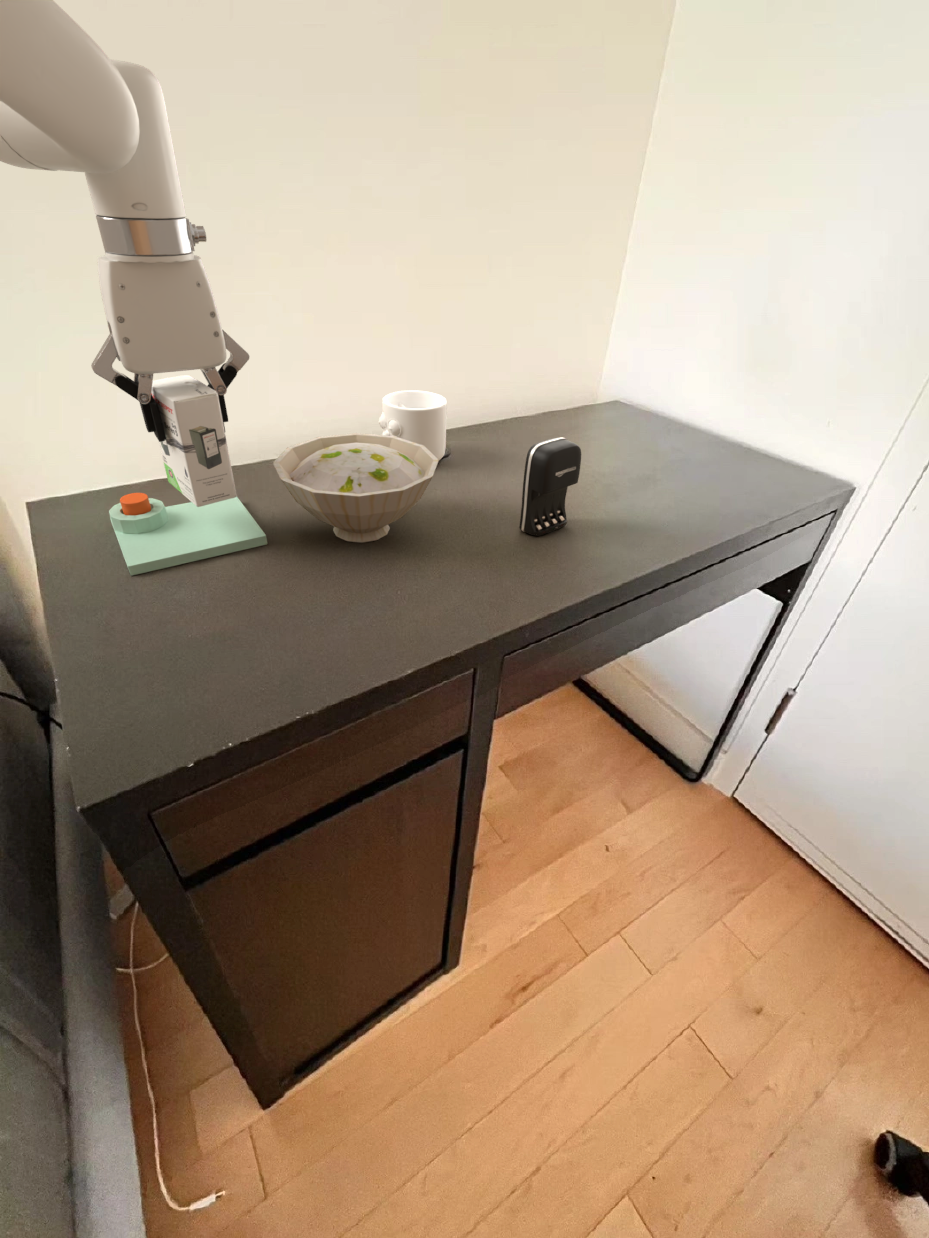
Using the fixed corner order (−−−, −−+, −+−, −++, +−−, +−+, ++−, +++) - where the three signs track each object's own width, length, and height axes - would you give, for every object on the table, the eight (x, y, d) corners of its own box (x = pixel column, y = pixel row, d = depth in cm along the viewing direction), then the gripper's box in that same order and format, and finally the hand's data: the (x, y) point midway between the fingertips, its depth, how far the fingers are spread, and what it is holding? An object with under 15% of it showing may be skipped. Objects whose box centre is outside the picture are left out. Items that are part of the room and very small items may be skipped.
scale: (130, 576, 66) (122, 551, 65) (112, 526, 75) (105, 503, 73) (267, 544, 73) (264, 521, 72) (236, 502, 82) (232, 480, 80)
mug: (362, 449, 99) (358, 392, 94) (416, 438, 104) (415, 383, 99) (401, 475, 92) (400, 414, 86) (457, 461, 97) (459, 403, 91)
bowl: (334, 486, 87) (328, 415, 82) (460, 513, 82) (463, 440, 76) (249, 546, 73) (234, 465, 67) (396, 583, 68) (394, 500, 62)
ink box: (167, 483, 72) (140, 379, 65) (208, 473, 75) (186, 373, 68) (196, 509, 67) (171, 399, 60) (239, 497, 70) (220, 392, 63)
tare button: (126, 519, 71) (121, 505, 70) (121, 509, 73) (117, 495, 72) (153, 514, 73) (150, 500, 72) (148, 504, 75) (145, 490, 74)
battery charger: (537, 542, 77) (549, 454, 70) (516, 530, 79) (525, 444, 72) (574, 527, 80) (589, 442, 74) (553, 516, 83) (565, 433, 76)
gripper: (230, 236, 63) (257, 413, 74) (36, 236, 55) (98, 434, 66) (252, 244, 58) (278, 432, 69) (43, 245, 50) (108, 458, 61)
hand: (189, 431), depth 67 cm, fingers closed on ink box, 5 cm apart
